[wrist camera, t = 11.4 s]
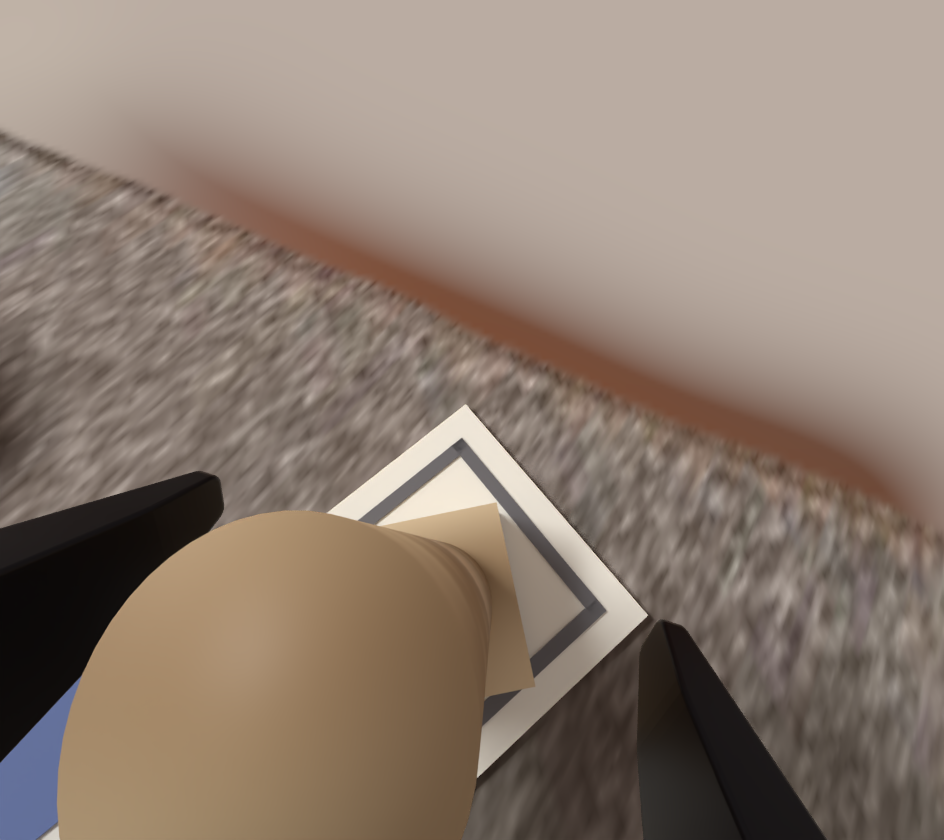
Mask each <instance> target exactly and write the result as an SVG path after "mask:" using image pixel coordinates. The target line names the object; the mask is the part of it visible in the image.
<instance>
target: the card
mask: <svg viewBox="0 0 944 840" xmlns="http://www.w3.org/2000/svg"><path fill="white" fill-rule="evenodd" d="M495 502H497V507H498V511H499V516H500V521H501V525H502V530H503V535H504V540H505V544H506V549H507V554H508V559H509V563H510V568H511V573H512V578H513V582H514V587H515V592H516V597H517V601H518V606H519V611H520V615H521V620H522V625H523V630H524V634H525V639H526V644H527V649H528V653H529V658H530V663H531V668H532V672H533V677H534V682H535V687H531V688H526V689H521V690H516V691H512V692H507V693H502V694H497V695H492V696H488V697H485V698H484V709H483V720H482V731H481V743H480V753H479V762H478V771H477V778H478V777H479V776H480V775H481V774H482V773H483V772H484V771H485V770H486V769H487V768H488V767H489V766H490V765H491V764H492V763H493V762H494V761H496V760H497V759H498V758H499V757H500V756H501V755H502V754H503V753H504V752H505V751H506V750H507V749H508V748H509V747H510V746H511V745H512V744H513V743H514V742H515V741H517V740H518V739H519V738H520V737H521V736H522V735H523V734H524V733H525V732H526V731H527V730H528V729H529V728H530V727H531V726H532V725H533V724H534V723H535V722H537V721H538V720H539V719H540V718H541V717H542V716H543V715H544V714H545V713H546V712H547V711H548V710H549V709H550V708H551V707H552V706H553V705H554V704H555V703H556V702H558V701H559V700H560V699H561V698H562V697H563V696H564V695H565V694H566V693H567V692H568V691H569V690H570V689H571V688H572V687H573V686H574V685H575V684H576V683H578V682H579V681H580V680H581V679H582V678H583V677H584V676H585V675H586V674H587V673H588V672H589V671H590V670H591V669H592V668H593V667H594V666H595V665H596V664H597V663H599V662H600V661H601V660H602V659H603V658H604V657H605V656H606V655H607V654H608V653H609V652H610V651H611V650H612V649H613V648H614V647H615V646H616V645H617V644H619V643H620V642H621V641H622V640H623V639H624V638H625V637H626V636H627V635H628V634H629V633H630V632H631V631H632V630H633V629H634V628H635V627H636V626H637V625H638V624H640V623H641V622H642V621H643V620H644V619H645V618H646V617H647V616H648V615H647V613H646V612H645V611H644V610H643V609H642V608H641V607H640V605H639V604H638V603H637V602H636V601H635V600H634V598H633V597H632V596H631V595H630V594H629V593H628V591H627V590H626V589H625V588H624V587H623V586H622V585H621V583H620V582H619V581H618V580H617V579H616V578H615V576H614V575H613V574H612V573H611V572H610V571H609V569H608V568H607V567H606V566H605V565H604V564H603V563H602V561H601V560H600V559H599V558H598V557H597V556H596V554H595V553H594V552H593V551H592V550H591V549H590V547H589V546H588V545H587V544H586V543H585V542H584V541H583V539H582V538H581V537H580V536H579V535H578V534H577V532H576V531H575V530H574V529H573V528H572V527H571V526H570V524H569V523H568V522H567V521H566V520H565V519H564V517H563V516H562V515H561V514H560V513H559V512H558V510H557V509H556V508H555V507H554V506H553V505H552V504H551V502H550V501H549V500H548V499H547V498H546V497H545V495H544V494H543V493H542V492H541V491H540V490H539V488H538V487H537V486H536V485H535V484H534V483H533V482H532V480H531V479H530V478H529V477H528V476H527V475H526V473H525V472H524V471H523V470H522V469H521V468H520V466H519V465H518V464H517V463H516V462H515V461H514V460H513V458H512V457H511V456H510V455H509V454H508V453H507V451H506V450H505V449H504V448H503V447H502V446H501V444H500V443H499V442H498V441H497V440H496V439H495V438H494V436H493V435H492V434H491V433H490V432H489V431H488V429H487V428H486V427H485V426H484V425H483V424H482V422H481V421H480V420H479V419H478V418H477V417H476V416H475V414H474V413H473V412H472V411H471V410H470V409H469V407H468V406H467V405H466V404H465V405H464V406H463V407H462V408H460V409H459V410H458V411H456V412H455V413H454V414H453V415H451V416H450V417H449V418H448V419H446V420H445V421H444V422H442V423H441V424H440V425H439V426H437V427H436V428H435V429H433V430H432V431H431V432H430V433H428V434H427V435H426V436H425V437H423V438H422V439H421V440H419V441H418V442H417V443H416V444H414V445H413V446H412V447H411V448H409V449H408V450H407V451H405V452H404V453H403V454H402V455H400V456H399V457H398V458H397V459H395V460H394V461H393V462H391V463H390V464H389V465H388V466H386V467H385V468H384V469H382V470H381V471H380V472H379V473H377V474H376V475H375V476H374V477H372V478H371V479H370V480H368V481H367V482H366V483H365V484H363V485H362V486H361V487H360V488H358V489H357V490H356V491H354V492H353V493H352V494H351V495H349V496H348V497H347V498H345V499H344V500H343V501H342V502H340V503H339V504H338V505H337V506H335V507H334V508H333V509H331V510H330V511H329V512H328V514H333V515H337V516H341V517H345V518H349V519H353V520H357V521H361V522H365V523H369V524H373V525H377V526H383V525H388V524H393V523H398V522H402V521H407V520H412V519H417V518H422V517H427V516H432V515H437V514H442V513H446V512H451V511H456V510H461V509H466V508H471V507H476V506H481V505H485V504H490V503H495Z"/></svg>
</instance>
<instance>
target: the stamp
mask: <svg viewBox="0 0 944 840" xmlns="http://www.w3.org/2000/svg"><path fill="white" fill-rule="evenodd" d="M531 687H535V682H534V677H533V672H532V668H531V663H530V658H529V653H528V649H527V644H526V639H525V634H524V630H523V625H522V620H521V615H520V611H519V606H518V601H517V597H516V592H515V587H514V582H513V578H512V573H511V568H510V563H509V559H508V554H507V549H506V544H505V540H504V535H503V530H502V525H501V521H500V516H499V511H498V507H497V502H495V503H490V504H485V505H481V506H476V507H471V508H466V509H461V510H456V511H451V512H446V513H442V514H437V515H432V516H427V517H422V518H417V519H412V520H407V521H402V522H398V523H393V524H388V525H383V526H377V525H373V524H369V523H365V522H361V521H357V520H353V519H349V518H345V517H341V516H337V515H333V514H328V513H321V512H314V511H278V512H271V513H263V514H258V515H254V516H251V517H247V518H243V519H240V520H236V521H234V522H231V523H229V524H226V525H224V526H222V527H219V528H217V529H214V530H212V531H210V532H209V533H207V534H205V535H203V536H201V537H200V538H198V539H196V540H194V541H192V542H191V543H189V544H188V545H186V546H185V547H184V548H182V549H181V550H179V551H178V552H176V553H175V554H174V555H172V556H171V557H169V558H168V559H167V560H166V561H165V562H164V563H163V564H161V565H160V566H159V567H158V568H157V569H156V570H155V571H154V572H152V573H151V574H150V575H149V576H148V577H147V578H146V579H145V580H144V581H143V582H142V584H141V585H140V586H139V587H138V588H137V589H136V590H135V591H134V592H133V593H132V594H131V596H130V597H129V598H128V599H127V600H126V602H125V603H124V605H123V606H122V607H121V609H120V610H119V611H118V613H117V614H116V615H115V617H114V618H113V619H112V621H111V622H110V624H109V625H108V627H107V629H106V630H105V632H104V634H103V635H102V637H101V639H100V640H99V642H98V644H97V645H96V647H95V649H94V651H93V653H92V655H91V658H90V660H89V662H88V664H87V666H86V668H85V670H84V672H83V674H82V677H81V679H80V682H79V685H78V688H77V691H76V693H75V696H74V699H73V702H72V704H71V708H70V712H69V716H68V720H67V724H66V728H65V732H64V735H63V741H62V748H61V755H60V761H59V768H58V788H57V812H58V826H59V838H60V840H461V839H462V836H463V833H464V830H465V827H466V824H467V821H468V818H469V814H470V809H471V805H472V800H473V796H474V791H475V787H476V781H477V771H478V762H479V753H480V743H481V731H482V720H483V709H484V698H485V697H488V696H492V695H497V694H502V693H507V692H512V691H516V690H521V689H526V688H531Z"/></svg>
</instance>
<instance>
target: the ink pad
mask: <svg viewBox="0 0 944 840" xmlns="http://www.w3.org/2000/svg"><path fill="white" fill-rule="evenodd" d="M81 677H82V676H81ZM81 677H80V678H79V679H78V680H77V681H76V682H75V684H74V685H73V686H72V687H71V688H70V689H69V690H68V691H67V692H66V693H65V694H64V695H63V696H62V697H61V699H60V700H59V701H58V702H57V703H56V704H55V705H54V706H53V707H52V708H51V709H50V710H49V711H48V712H47V714H46V715H45V716H44V717H43V718H42V719H41V720H40V721H39V722H38V723H37V724H36V725H35V726H34V727H33V728H32V730H31V731H30V732H29V733H28V734H27V735H26V736H25V737H24V738H23V739H22V740H21V741H20V742H19V743H18V745H17V746H16V747H15V748H14V749H13V750H12V751H11V752H10V753H9V754H8V755H7V756H6V757H5V758H4V760H3V761H2V762H1V763H0V840H60V838H59V826H58V812H57V788H58V768H59V761H60V755H61V748H62V741H63V735H64V732H65V728H66V724H67V720H68V716H69V712H70V708H71V704H72V702H73V699H74V696H75V693H76V691H77V688H78V685H79V682H80V679H81Z"/></svg>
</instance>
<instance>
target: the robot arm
mask: <svg viewBox="0 0 944 840" xmlns="http://www.w3.org/2000/svg"><path fill="white" fill-rule="evenodd" d="M223 510H224V501H223V494H222V488H221V482H220V479H219V478H218V477H217V476H215V475H212V474H209V473H206V472H203V471H196V472H192V473H189V474H185V475H182V476H178V477H175V478H171V479H168V480H165V481H161V482H158V483H154V484H151V485H148V486H144V487H141V488H137V489H134V490H130V491H127V492H124V493H120V494H117V495H113V496H110V497H106V498H103V499H100V500H96V501H93V502H89V503H86V504H83V505H79V506H76V507H72V508H69V509H65V510H62V511H59V512H55V513H52V514H48V515H45V516H41V517H38V518H35V519H31V520H28V521H24V522H21V523H17V524H14V525H11V526H7V527H4V528H0V763H1V762H2V761H3V760H4V758H5V757H6V756H7V755H8V754H9V753H10V752H11V751H12V750H13V749H14V748H15V747H16V746H17V745H18V743H19V742H20V741H21V740H22V739H23V738H24V737H25V736H26V735H27V734H28V733H29V732H30V731H31V730H32V728H33V727H34V726H35V725H36V724H37V723H38V722H39V721H40V720H41V719H42V718H43V717H44V716H45V715H46V714H47V712H48V711H49V710H50V709H51V708H52V707H53V706H54V705H55V704H56V703H57V702H58V701H59V700H60V699H61V697H62V696H63V695H64V694H65V693H66V692H67V691H68V690H69V689H70V688H71V687H72V686H73V685H74V684H75V682H76V681H77V680H78V679H79V678H80V677H81V676H82V674H83V672H84V670H85V668H86V666H87V664H88V662H89V660H90V658H91V655H92V653H93V651H94V649H95V647H96V645H97V644H98V642H99V640H100V639H101V637H102V635H103V634H104V632H105V630H106V629H107V627H108V625H109V624H110V622H111V621H112V619H113V618H114V617H115V615H116V614H117V613H118V611H119V610H120V609H121V607H122V606H123V605H124V603H125V602H126V600H127V599H128V598H129V597H130V596H131V594H132V593H133V592H134V591H135V590H136V589H137V588H138V587H139V586H140V585H141V584H142V582H143V581H144V580H145V579H146V578H147V577H148V576H149V575H150V574H151V573H152V572H154V571H155V570H156V569H157V568H158V567H159V566H160V565H161V564H163V563H164V562H165V561H166V560H167V559H168V558H169V557H171V556H172V555H174V554H175V553H176V552H178V551H179V550H181V549H182V548H184V547H185V546H186V545H188V544H189V543H191V542H192V541H194V540H196V539H198V538H200V537H201V536H203V535H205V534H207V533H208V532H209V531H210V530H211V529H212V527H213V526H214V525H215V523H216V522H217V521H218V520H219V518H220V517H221V515H222V513H223ZM637 757H638V773H639V786H640V800H641V813H642V826H643V840H827V839H826V837H825V836H824V834H823V833H822V831H821V830H820V828H819V827H818V825H817V824H816V822H815V821H814V819H813V818H812V816H811V815H810V813H809V812H808V811H807V809H806V808H805V806H804V805H803V803H802V802H801V800H800V799H799V797H798V796H797V794H796V793H795V791H794V790H793V788H792V787H791V785H790V784H789V782H788V781H787V779H786V778H785V776H784V775H783V773H782V772H781V770H780V769H779V767H778V766H777V764H776V763H775V761H774V760H773V758H772V757H771V755H770V754H769V752H768V751H767V749H766V748H765V746H764V745H763V743H762V742H761V740H760V739H759V737H758V736H757V734H756V733H755V731H754V730H753V728H752V727H751V725H750V724H749V722H748V721H747V719H746V718H745V716H744V715H743V713H742V712H741V710H740V709H739V707H738V706H737V704H736V703H735V701H734V700H733V698H732V697H731V696H730V694H729V693H728V691H727V690H726V688H725V687H724V685H723V684H722V682H721V681H720V679H719V678H718V676H717V675H716V673H715V672H714V670H713V669H712V667H711V666H710V664H709V663H708V661H707V660H706V658H705V657H704V655H703V654H702V652H701V651H700V649H699V648H698V646H697V645H696V643H695V642H694V640H693V639H692V637H691V636H690V634H689V633H688V631H687V630H686V629H685V628H684V627H683V626H681V625H679V624H676V623H672V622H669V621H666V620H659V621H657V622H656V624H655V625H654V627H653V629H652V630H651V632H650V633H649V635H648V637H647V638H646V640H645V642H644V643H643V645H642V648H641V651H640V657H639V689H638V725H637Z"/></svg>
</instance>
